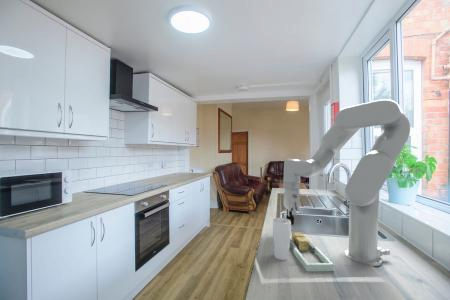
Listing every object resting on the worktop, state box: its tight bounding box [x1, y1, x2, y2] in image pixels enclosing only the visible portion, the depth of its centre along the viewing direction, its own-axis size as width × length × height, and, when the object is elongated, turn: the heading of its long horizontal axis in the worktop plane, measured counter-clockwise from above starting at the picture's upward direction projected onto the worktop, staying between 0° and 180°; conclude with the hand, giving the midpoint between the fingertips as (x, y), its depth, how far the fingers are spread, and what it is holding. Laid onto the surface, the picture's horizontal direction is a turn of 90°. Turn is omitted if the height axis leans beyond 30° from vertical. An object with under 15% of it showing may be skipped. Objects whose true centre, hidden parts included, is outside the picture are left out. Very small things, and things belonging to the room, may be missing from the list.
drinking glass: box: [272, 217, 292, 261], centre depth 86 cm, size 7×7×15 cm
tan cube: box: [296, 236, 310, 251], centre depth 93 cm, size 4×4×4 cm
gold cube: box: [291, 232, 305, 245], centre depth 98 cm, size 4×4×4 cm
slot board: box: [289, 235, 316, 254], centre depth 95 cm, size 8×12×3 cm
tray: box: [293, 246, 335, 272], centre depth 83 cm, size 9×13×3 cm
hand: (289, 224), depth 106 cm, fingers closed
